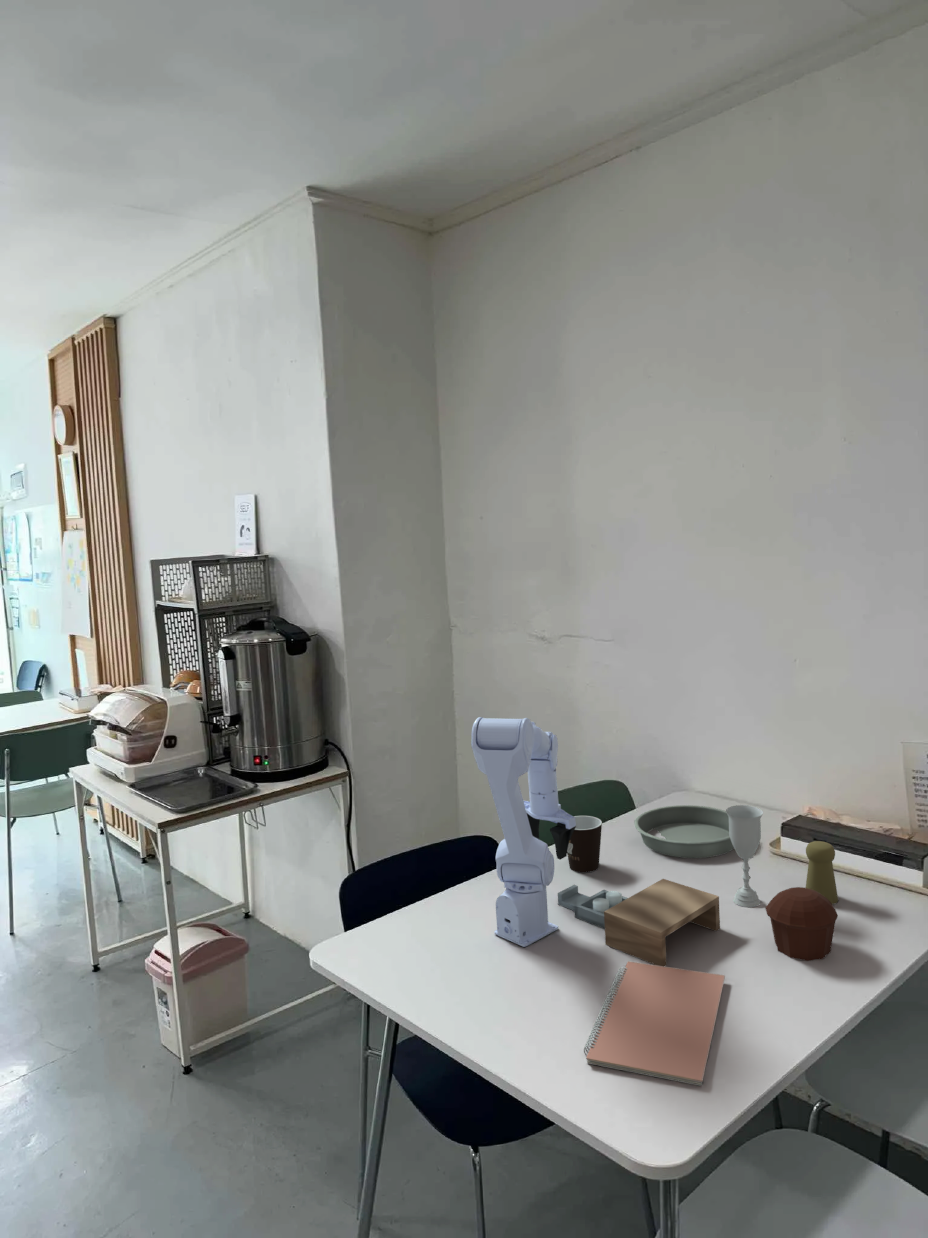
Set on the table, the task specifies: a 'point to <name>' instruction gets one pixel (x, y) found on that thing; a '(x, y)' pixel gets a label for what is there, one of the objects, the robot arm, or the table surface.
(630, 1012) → the notebook
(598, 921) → the tray
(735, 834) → the chalice
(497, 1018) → the table surface
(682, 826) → the cake pan
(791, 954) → the muffin
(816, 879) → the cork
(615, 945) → the shelf
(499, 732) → the robot arm
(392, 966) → the table surface
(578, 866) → the coffee mug
